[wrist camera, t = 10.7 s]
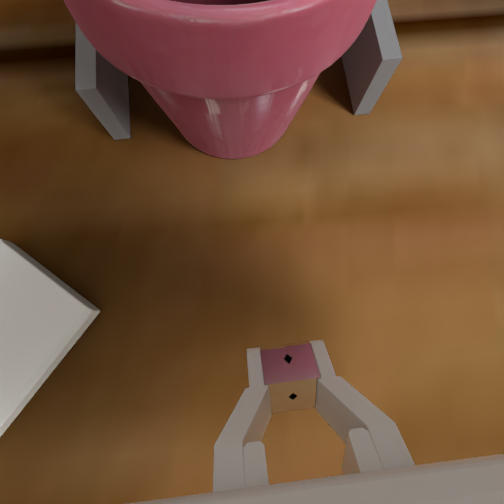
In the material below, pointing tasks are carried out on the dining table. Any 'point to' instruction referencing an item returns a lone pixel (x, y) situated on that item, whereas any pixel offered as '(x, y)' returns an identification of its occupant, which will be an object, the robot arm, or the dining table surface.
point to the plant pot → (224, 60)
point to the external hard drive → (33, 327)
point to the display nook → (354, 59)
